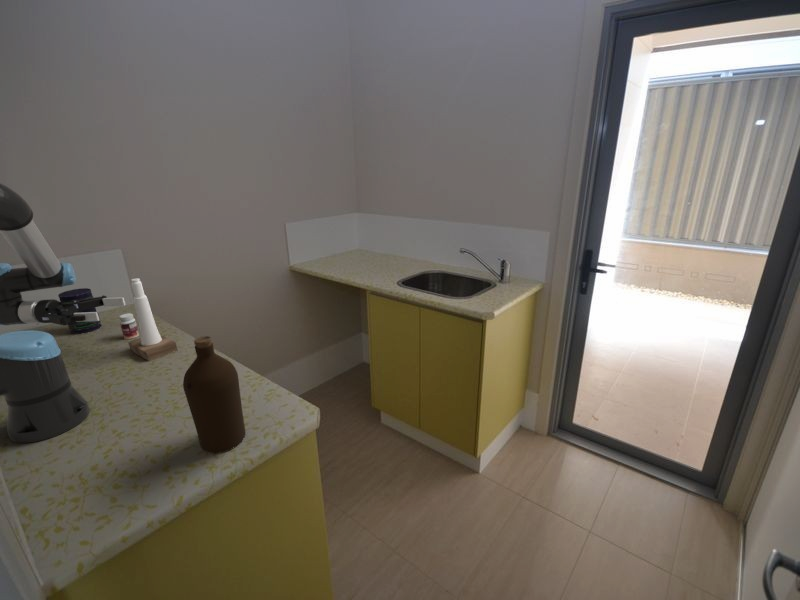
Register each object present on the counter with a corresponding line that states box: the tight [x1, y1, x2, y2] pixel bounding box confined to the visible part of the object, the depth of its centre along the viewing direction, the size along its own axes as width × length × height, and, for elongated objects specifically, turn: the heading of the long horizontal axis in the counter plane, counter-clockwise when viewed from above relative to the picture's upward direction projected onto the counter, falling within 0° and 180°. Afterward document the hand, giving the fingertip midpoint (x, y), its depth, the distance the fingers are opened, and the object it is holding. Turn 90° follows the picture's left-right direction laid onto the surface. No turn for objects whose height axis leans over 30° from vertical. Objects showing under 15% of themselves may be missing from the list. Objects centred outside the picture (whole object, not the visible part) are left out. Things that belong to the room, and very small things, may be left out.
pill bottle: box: [118, 312, 140, 340], centre depth 142 cm, size 5×5×8 cm
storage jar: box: [57, 287, 103, 335], centre depth 149 cm, size 10×10×15 cm
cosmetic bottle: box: [130, 277, 162, 346], centre depth 128 cm, size 6×6×22 cm
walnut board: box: [127, 334, 178, 362], centre depth 132 cm, size 14×9×3 cm, turn 54°
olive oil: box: [182, 335, 246, 454], centre depth 85 cm, size 11×11×25 cm
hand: (111, 308), depth 127 cm, fingers open, 13 cm apart
